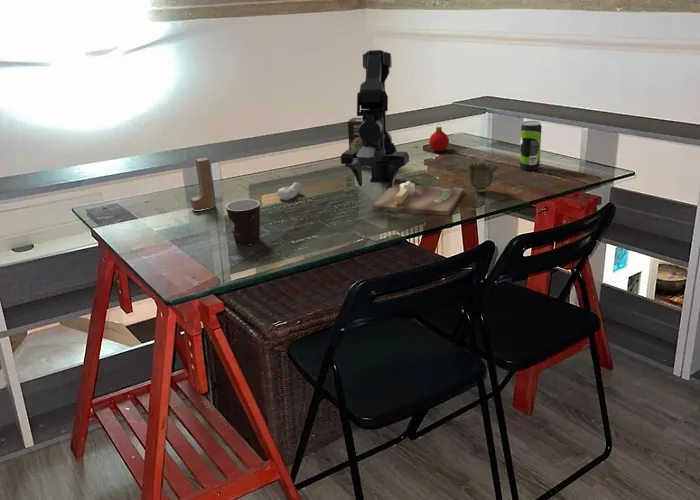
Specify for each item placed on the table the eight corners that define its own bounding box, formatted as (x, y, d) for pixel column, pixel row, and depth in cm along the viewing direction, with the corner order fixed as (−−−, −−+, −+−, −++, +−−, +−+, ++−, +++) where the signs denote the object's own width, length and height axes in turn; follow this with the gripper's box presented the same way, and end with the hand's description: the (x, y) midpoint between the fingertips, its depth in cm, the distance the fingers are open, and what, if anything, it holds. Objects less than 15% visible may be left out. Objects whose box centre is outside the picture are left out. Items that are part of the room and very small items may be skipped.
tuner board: (372, 210, 191) (371, 205, 190) (392, 188, 208) (392, 183, 207) (448, 215, 183) (448, 210, 183) (463, 192, 200) (463, 187, 200)
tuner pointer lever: (402, 190, 201) (402, 180, 200) (416, 191, 199) (416, 181, 198) (388, 206, 189) (387, 195, 188) (403, 207, 187) (403, 196, 186)
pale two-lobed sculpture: (283, 206, 203) (274, 197, 206) (305, 198, 207) (296, 190, 210) (284, 194, 200) (275, 185, 203) (306, 187, 204) (297, 179, 207)
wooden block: (212, 205, 203) (205, 157, 197) (216, 207, 201) (209, 159, 195) (191, 209, 200) (183, 161, 194) (195, 212, 198) (187, 163, 192)
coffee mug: (232, 236, 179) (227, 200, 175) (264, 233, 179) (260, 198, 175) (228, 253, 168) (223, 216, 164) (263, 250, 169) (258, 213, 165)
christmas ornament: (428, 153, 241) (428, 126, 238) (429, 148, 248) (429, 121, 244) (448, 153, 240) (448, 125, 236) (449, 148, 247) (449, 121, 243)
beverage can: (541, 167, 219) (544, 121, 213) (535, 172, 214) (538, 125, 208) (523, 165, 222) (525, 120, 216) (516, 170, 217) (518, 124, 211)
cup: (493, 196, 195) (494, 170, 192) (467, 196, 197) (467, 169, 194) (493, 188, 202) (494, 162, 199) (468, 188, 204) (468, 162, 200)
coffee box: (349, 167, 231) (346, 121, 225) (354, 162, 237) (352, 117, 230) (375, 168, 228) (372, 121, 222) (379, 163, 234) (377, 117, 228)
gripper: (331, 139, 182) (335, 194, 189) (397, 141, 176) (399, 198, 182) (345, 129, 192) (349, 181, 198) (408, 131, 185) (410, 185, 192)
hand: (375, 186), depth 192 cm, fingers open, 9 cm apart
